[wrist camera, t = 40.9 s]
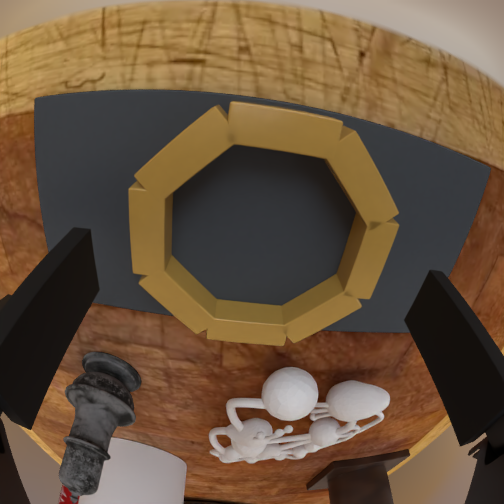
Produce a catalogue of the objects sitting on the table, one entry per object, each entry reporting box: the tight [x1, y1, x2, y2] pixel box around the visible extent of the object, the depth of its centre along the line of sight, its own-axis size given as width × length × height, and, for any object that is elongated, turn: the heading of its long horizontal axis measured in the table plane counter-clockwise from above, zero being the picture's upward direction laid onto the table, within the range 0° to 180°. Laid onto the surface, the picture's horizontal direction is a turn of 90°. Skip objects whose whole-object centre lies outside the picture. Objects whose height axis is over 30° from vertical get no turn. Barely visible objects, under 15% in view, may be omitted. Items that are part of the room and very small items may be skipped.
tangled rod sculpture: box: [209, 367, 390, 463], centre depth 23 cm, size 19×14×4 cm
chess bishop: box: [59, 352, 141, 504], centre depth 16 cm, size 6×6×12 cm
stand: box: [306, 450, 410, 504], centre depth 31 cm, size 13×13×13 cm
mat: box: [34, 90, 491, 333], centre depth 14 cm, size 24×12×1 cm, turn 82°
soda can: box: [59, 485, 80, 504], centre depth 34 cm, size 6×6×12 cm
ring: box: [129, 100, 399, 346], centre depth 13 cm, size 12×12×2 cm
